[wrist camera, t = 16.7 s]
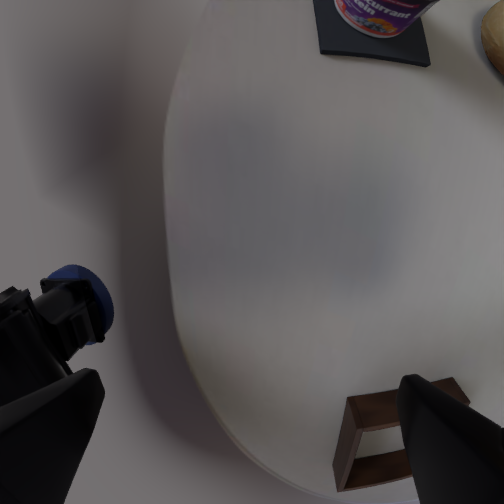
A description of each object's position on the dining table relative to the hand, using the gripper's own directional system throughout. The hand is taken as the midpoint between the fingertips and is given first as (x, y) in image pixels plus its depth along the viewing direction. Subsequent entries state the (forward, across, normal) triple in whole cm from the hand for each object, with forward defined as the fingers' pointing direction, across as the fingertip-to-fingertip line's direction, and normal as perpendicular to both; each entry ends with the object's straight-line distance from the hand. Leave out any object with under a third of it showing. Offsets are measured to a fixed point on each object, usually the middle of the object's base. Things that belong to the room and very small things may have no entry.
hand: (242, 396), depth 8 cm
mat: (+13, -8, -18) cm, 24 cm away
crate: (+13, -13, +18) cm, 26 cm away
